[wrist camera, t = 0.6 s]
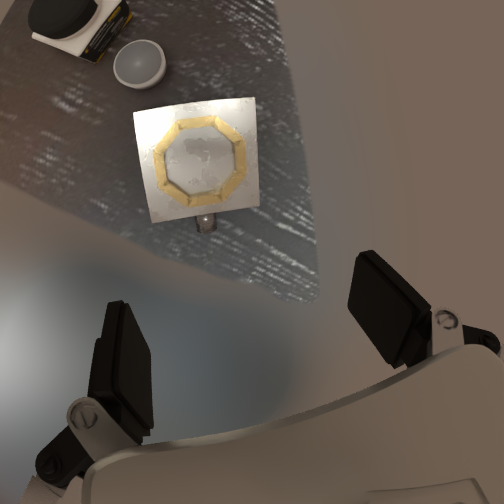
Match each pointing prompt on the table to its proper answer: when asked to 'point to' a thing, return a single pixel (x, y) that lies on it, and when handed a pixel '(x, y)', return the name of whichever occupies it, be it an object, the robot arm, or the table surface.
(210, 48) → the table surface
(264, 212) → the table surface
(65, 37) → the medicine bottle
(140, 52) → the short grey cylinder
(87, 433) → the robot arm
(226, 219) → the table surface
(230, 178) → the block
